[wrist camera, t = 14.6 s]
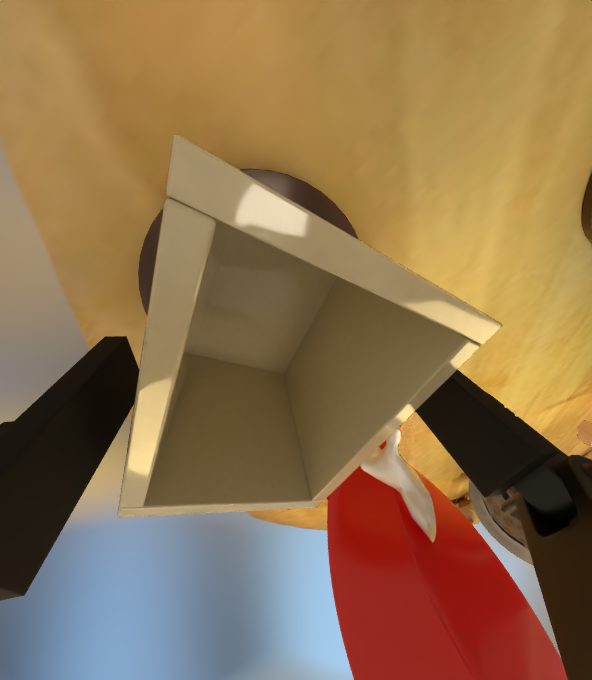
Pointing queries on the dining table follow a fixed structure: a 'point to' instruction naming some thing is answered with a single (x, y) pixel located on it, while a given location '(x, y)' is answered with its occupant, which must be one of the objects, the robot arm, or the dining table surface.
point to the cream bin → (274, 349)
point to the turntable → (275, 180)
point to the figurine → (501, 521)
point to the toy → (468, 510)
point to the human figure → (585, 432)
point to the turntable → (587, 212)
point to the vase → (426, 593)
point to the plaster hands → (403, 482)
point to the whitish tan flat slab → (589, 455)
